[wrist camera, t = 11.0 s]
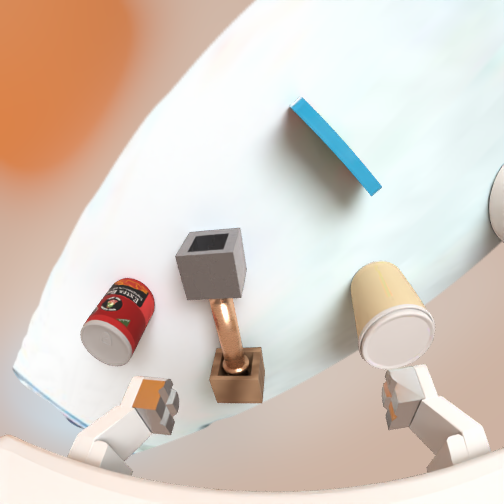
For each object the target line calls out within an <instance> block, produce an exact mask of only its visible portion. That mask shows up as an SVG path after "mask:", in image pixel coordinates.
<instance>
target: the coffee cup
mask: <svg viewBox="0 0 504 504" xmlns="http://www.w3.org/2000/svg"><path fill="white" fill-rule="evenodd" d="M351 297H352V303H353V310H354V316H355V322H356V329H357V335H358V348H359V352H360V355H361V357H362V358H363V359H364V360H365V361H366V362H367V363H368V364H369V365H371V366H373V367H375V368H378V369H385V370H389V369H397V368H401V367H404V366H406V365H409V364H411V363H412V362H414V361H416V360H417V359H419V358H420V357H421V356H422V355H423V354H424V353H425V352H426V351H427V350H428V348H429V346H430V345H431V343H432V341H433V339H434V334H435V322H434V319H433V317H432V315H431V314H430V313H429V311H428V310H427V309H426V308H425V306H424V304H423V303H422V301H421V300H420V298H419V297H418V295H417V294H416V292H415V291H414V289H413V288H412V287H411V285H410V284H409V282H408V281H407V279H406V278H405V277H404V275H403V274H402V272H401V271H400V270H399V269H398V268H397V266H395V265H394V264H392V263H390V262H387V261H375V262H371V263H368V264H366V265H365V266H363V267H362V268H361V269H359V270H358V272H357V273H356V274H355V276H354V277H353V279H352V282H351Z"/></svg>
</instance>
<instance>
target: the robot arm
mask: <svg viewBox="0 0 504 504" xmlns="http://www.w3.org/2000/svg"><path fill="white" fill-rule="evenodd" d="M489 214H490V221H491V225H492V228H493V230H494V232H495V233H496V235H497V236H498V237H499V238H500V239H501V240H502V241H503V242H504V165H503V166H502V168H501V169H500V171H499V173H498V175H497V177H496V179H495V181H494V184H493V187H492V191H491V196H490V203H489ZM385 378H386V382H385V383H384V384H383V388H382V402H383V407H385V408H386V409H387V413H386V420H387V425H388V430H391V429H398V428H405V427H409V428H410V429H411V430H412V431H413V432H414V433H415V434H416V435H417V436H418V437H419V439H420V440H422V442H423V443H424V444H425V445H426V446H427V447H428V448H429V449H430V450H431V451H432V452H433V453H434V454H435V455H436V456H435V457H434V459H433V460H432V461H431V463H430V464H429V465H428V467H427V473H424V474H420V475H416V476H412V477H407V478H402V479H398V480H392V481H387V482H382V483H376V484H369V485H363V486H355V487H347V488H338V489H327V490H314V491H292V492H257V491H233V490H219V489H208V488H200V487H191V486H184V485H177V484H171V483H165V482H159V481H154V480H149V479H143V478H139V477H134V476H132V473H133V471H132V469H131V468H130V467H129V466H128V465H127V464H126V463H125V462H124V461H125V460H126V459H127V458H128V457H129V456H131V455H132V454H133V453H134V452H135V451H136V450H137V449H138V448H139V447H140V446H141V445H142V444H143V443H144V442H145V441H146V440H147V439H148V438H149V437H150V436H151V435H152V433H155V434H165V435H171V433H172V430H173V426H174V423H175V421H174V419H173V416H174V415H176V414H177V412H178V409H179V397H178V394H177V392H176V391H175V390H174V389H172V386H173V383H172V381H171V379H165V378H154V377H144V376H134V377H133V378H132V379H131V382H130V384H129V386H128V388H127V391H126V393H125V395H124V397H123V400H122V402H121V404H120V406H116V407H114V408H113V409H112V410H110V411H109V412H107V413H106V414H105V415H103V416H102V417H101V418H99V419H98V420H97V421H95V422H94V423H92V424H91V425H90V426H88V427H87V428H86V429H84V430H83V431H81V432H80V433H79V434H78V435H77V437H76V439H75V441H74V443H73V445H72V448H71V450H70V452H69V454H68V457H64V456H61V455H58V454H56V453H53V452H50V451H48V450H45V449H43V448H40V447H38V446H35V445H33V444H30V443H28V442H26V441H24V440H21V439H19V438H17V437H15V436H12V435H4V436H2V437H0V504H504V447H503V448H501V449H498V450H496V451H493V452H491V450H490V447H489V444H488V441H487V438H486V435H485V432H484V430H483V427H482V426H481V425H480V424H479V423H477V422H476V421H475V420H473V419H472V418H471V417H469V416H468V415H467V414H465V413H464V412H463V411H461V410H460V409H459V408H457V407H456V406H454V405H453V404H452V403H451V402H449V401H448V400H447V399H445V398H444V397H443V396H438V394H437V392H436V389H435V386H434V384H433V381H432V379H431V376H430V373H429V371H428V368H427V366H426V365H425V364H422V365H416V366H409V367H403V368H397V369H390V370H387V372H386V375H385Z"/></svg>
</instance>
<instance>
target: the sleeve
mask: <svg viewBox="0 0 504 504" xmlns="http://www.w3.org/2000/svg"><path fill="white" fill-rule="evenodd" d="M175 257H176V261H177V264H178V268H179V272H180V275H181V279H182V283H183V286H184V290H185V293H186V297H187V300H200V299H224V298H241V296H242V291H243V286H244V281H245V275H246V270H247V268H246V262H245V255H244V249H243V243H242V236H241V230H240V228H231V229H220V230H209V231H198V232H190V233H189V234H188V236H187V238H186V239H185V241H184V243H183V244H182V246H181V248H180V249H179V251H178V253H177V254H176V256H175Z"/></svg>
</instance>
